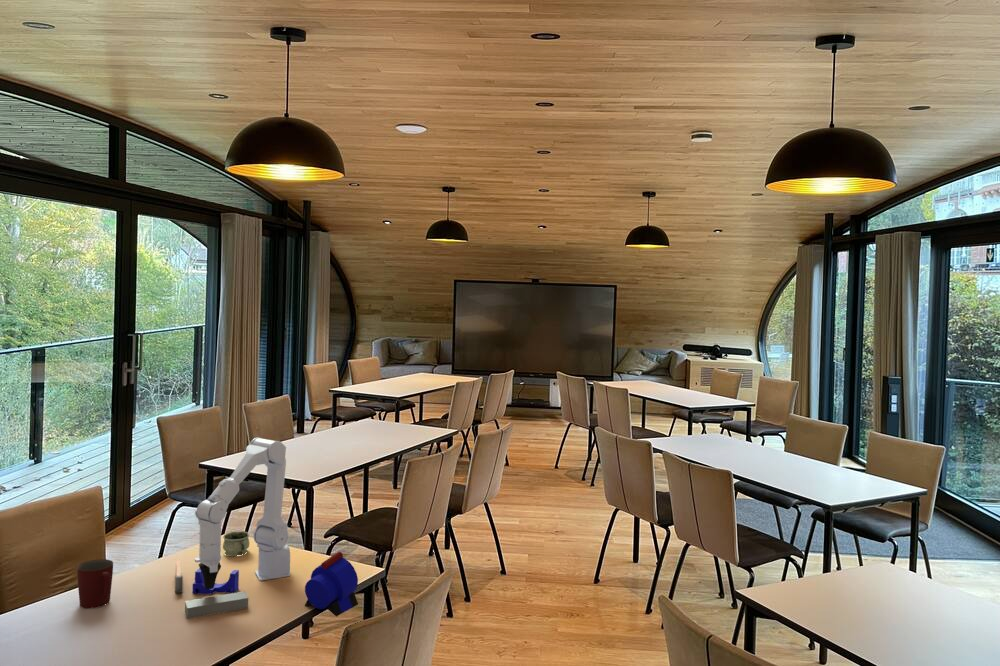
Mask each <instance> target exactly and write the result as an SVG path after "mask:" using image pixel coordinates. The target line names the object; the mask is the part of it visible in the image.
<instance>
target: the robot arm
mask: <svg viewBox="0 0 1000 666" xmlns="http://www.w3.org/2000/svg"><path fill="white" fill-rule="evenodd" d="M286 451H287V446H286V445H285V444H283V442H281V441H280V440H273V439H268V438H262V437H254V438H253V439H252V440H251V441H250V442H249V444H248V445H247V446H246V449H245V454H244V456H243V457H242V459H241V461H240V462H239V463H238V465H237V466H236V468H235V469H234V470H233V472H232V473H231V475H230V476H229V478H223V479H222V480H221V481H219V483H218V486H217V487H216V488H215V489H214V491H213V492H212V493H211V495H209V496H208V498H207V499H204V500H203V501H201V502H200V503H199V504H198V506H197V508H196V510H195V512H194V514H195V517H196V518H197V519H198V525H199V549H198V550H199V551H198V552H199V556H198V557H195V558H194V562H195V563H198V567H199V568H200V570H201V571H202V575H203V580H204V585H205V588H206V590H207V589H213V588H214V585H215V583H216V581H217V580H216V579H217V576H218V574H219V571H221V568H222V565H221V562H220V561H221V560H222V555H221V548H222V546H221V545H222V543H221V542H222V520H224V519H225V517H226V515H227V511H228V508H229V504H231V502H232V501H233V500H234V498H235V497H236V495H237V494H238V493H239V492H240V484H241V483H242V482H243V481H244V480H245V479H246V478H247V477H248V476H249V474H250V473H251V472H252V471H253V470H254V469H255V467H256V466H259V465H260V466H261V465H265V467H266V468H267V471H266V483H265V494H264V504H263V506H264V507H263V513H262V514H263V515H262V517H261V518H260V519H258V520H257V521H256V527H255V530H254V532H253V540H254V542H255V543H256V547H257V548H258V562H257V563H258V566H257V569H256V570H254V574H255V576H257V578H258V580H259V581H260V582H261V581H266V580H273V579H279V578H285V577H290V576H291V549H290V547H289V545H288V544H287V543H288V540H289V532H288V524H287V522H286V521H285V519H283V518H282V509H283V502H284V501H283V500H284V499H283V498H284V488H285V478H286V468H287V460H286V459H287V458H286Z"/></svg>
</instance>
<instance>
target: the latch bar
mask: <svg viewBox="0 0 1000 666" xmlns="http://www.w3.org/2000/svg"><path fill="white" fill-rule="evenodd" d="M183 577H184V576H183V575H182V571H181V560H180V559H175V577H174V578H175V580H174V593H175V594H179V593H182V592H183V589H184V588H183V585H184V582H183V581H184V579H183Z"/></svg>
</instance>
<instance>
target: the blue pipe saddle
mask: <svg viewBox="0 0 1000 666" xmlns="http://www.w3.org/2000/svg"><path fill="white" fill-rule="evenodd" d="M239 576H240V570H239V569H233V570H232V571H231V572H230V574H229V578H228V580H227V581H226V582H223V583H216V582H215V585H214V588H213V589H207V590H206V588H205V585H204V580H203V575H202V571H201V570H200V567H199V568H197V570H196V571H194V581H193V582H192V594H198V593H199V595H200V594H201V595H202V594H203V595H214V594H215V593H222V592H225V593H224V594H231V593H237V591H238V590H239V585H240V584H239V581H240V577H239Z"/></svg>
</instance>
